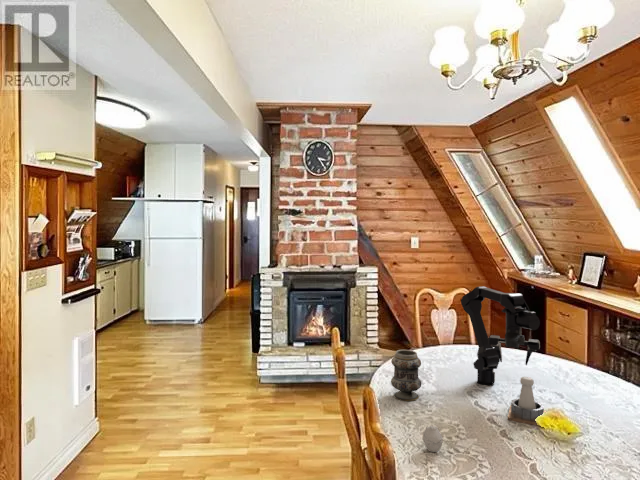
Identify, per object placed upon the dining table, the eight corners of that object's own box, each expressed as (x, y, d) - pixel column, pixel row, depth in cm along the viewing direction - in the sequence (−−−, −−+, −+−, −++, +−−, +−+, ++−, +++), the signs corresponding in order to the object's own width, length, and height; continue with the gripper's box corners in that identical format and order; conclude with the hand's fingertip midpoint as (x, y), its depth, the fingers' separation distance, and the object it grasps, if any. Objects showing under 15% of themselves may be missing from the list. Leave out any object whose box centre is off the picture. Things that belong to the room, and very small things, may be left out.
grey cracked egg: (439, 444, 135) (439, 422, 134) (446, 456, 128) (446, 433, 127) (419, 444, 134) (419, 422, 134) (426, 456, 127) (426, 433, 127)
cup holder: (507, 419, 151) (507, 407, 151) (510, 407, 162) (510, 395, 162) (545, 427, 145) (545, 414, 145) (546, 413, 156) (546, 401, 156)
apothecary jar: (424, 393, 176) (424, 350, 175) (417, 404, 165) (417, 358, 164) (395, 389, 181) (395, 346, 180) (387, 399, 170) (387, 354, 170)
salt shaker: (534, 418, 150) (534, 381, 149) (516, 414, 153) (516, 378, 153) (536, 412, 154) (537, 377, 154) (519, 409, 158) (519, 374, 157)
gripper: (486, 326, 170) (486, 365, 170) (538, 331, 161) (538, 372, 161) (489, 321, 180) (489, 358, 180) (539, 325, 170) (539, 364, 171)
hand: (513, 363), depth 173 cm, fingers open, 9 cm apart
